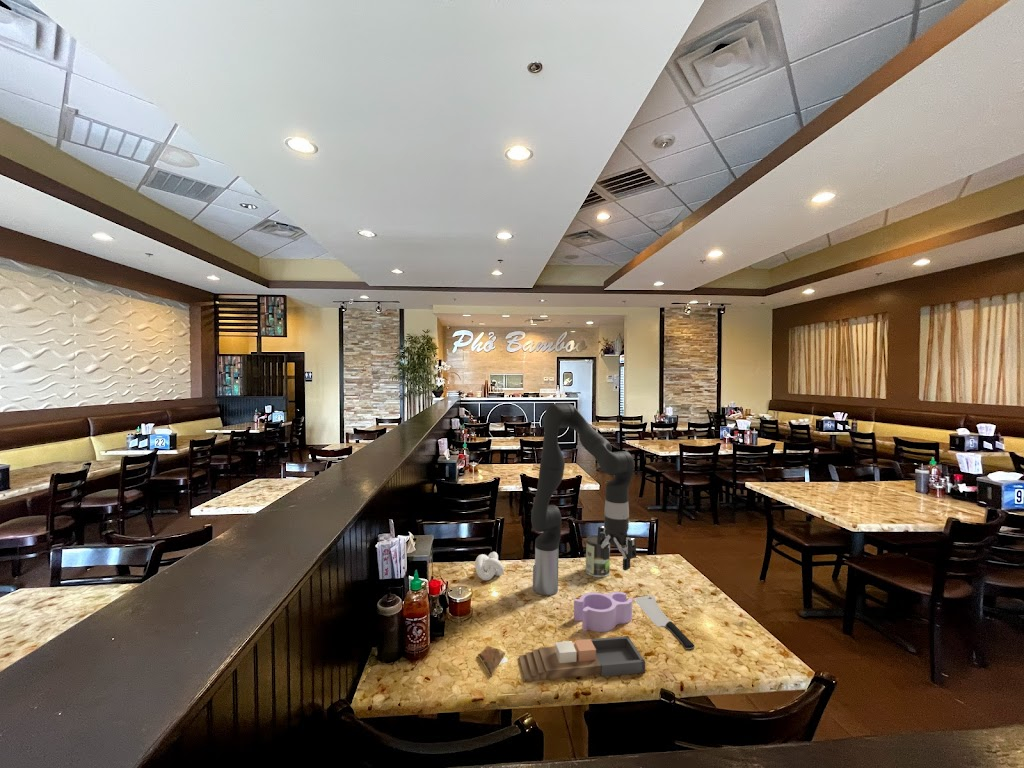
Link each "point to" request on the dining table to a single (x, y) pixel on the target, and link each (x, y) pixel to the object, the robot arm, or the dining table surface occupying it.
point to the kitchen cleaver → (661, 619)
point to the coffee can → (596, 558)
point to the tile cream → (565, 651)
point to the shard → (491, 658)
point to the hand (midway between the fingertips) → (615, 564)
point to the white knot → (488, 566)
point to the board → (567, 665)
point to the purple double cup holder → (602, 610)
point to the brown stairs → (532, 666)
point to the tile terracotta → (585, 650)
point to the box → (618, 656)
